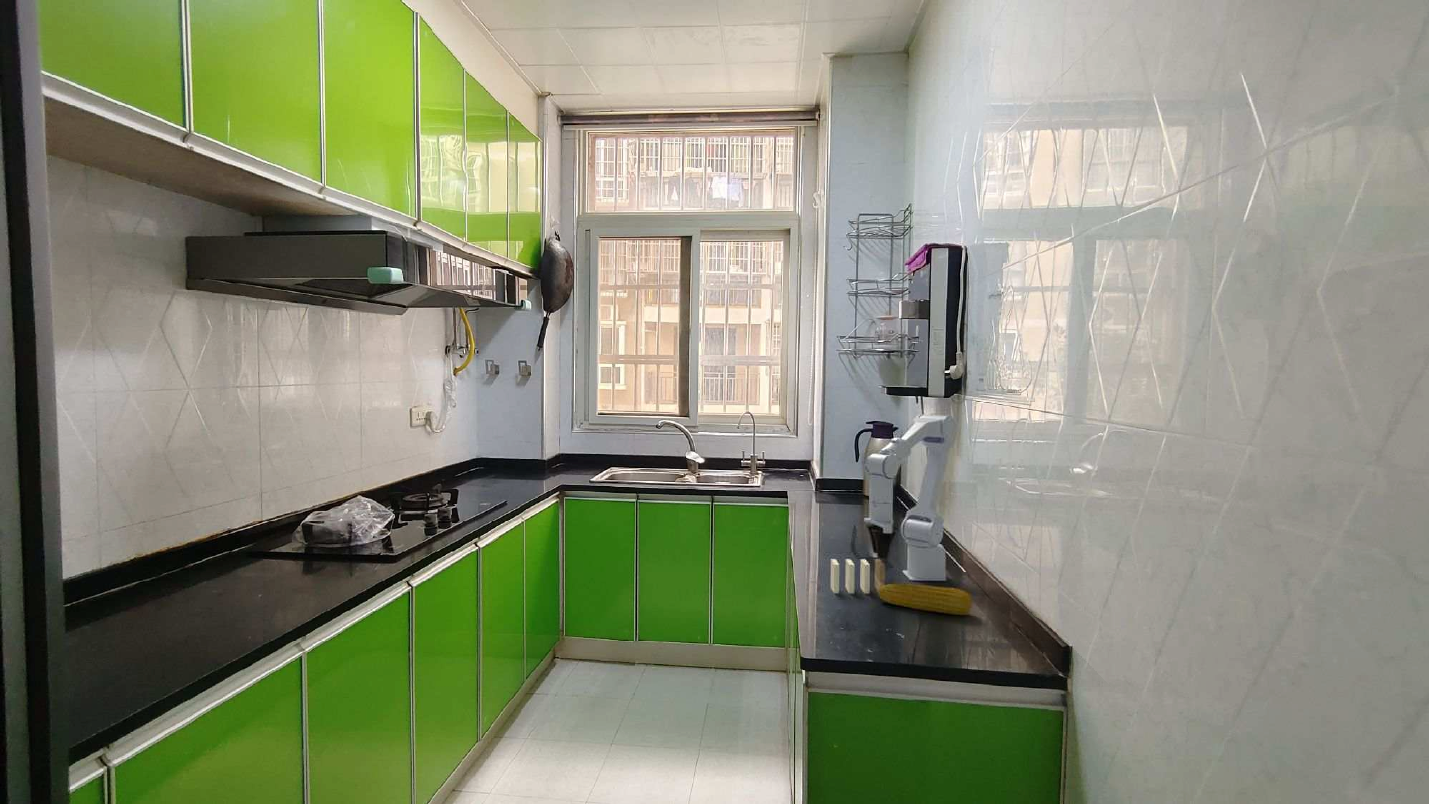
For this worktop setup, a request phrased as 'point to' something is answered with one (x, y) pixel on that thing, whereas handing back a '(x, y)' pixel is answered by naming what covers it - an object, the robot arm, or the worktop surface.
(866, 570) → the domino
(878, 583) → the domino
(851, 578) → the domino
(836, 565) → the domino
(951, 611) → the food
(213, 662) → the worktop surface
